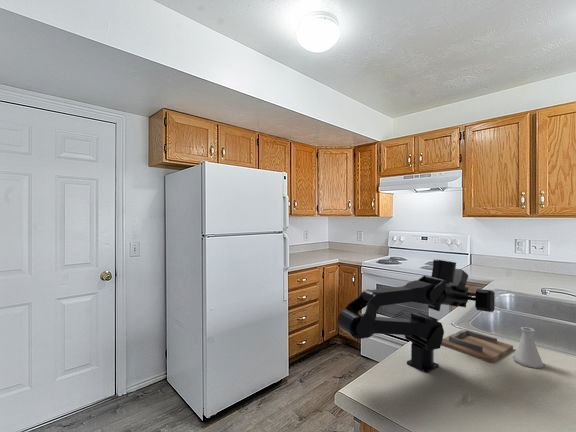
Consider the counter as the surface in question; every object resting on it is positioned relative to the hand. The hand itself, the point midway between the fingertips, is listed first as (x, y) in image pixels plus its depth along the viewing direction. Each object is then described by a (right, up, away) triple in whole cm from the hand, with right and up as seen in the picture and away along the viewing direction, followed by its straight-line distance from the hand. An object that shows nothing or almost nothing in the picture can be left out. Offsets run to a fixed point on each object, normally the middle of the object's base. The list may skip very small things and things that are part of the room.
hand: (475, 299), depth 99 cm
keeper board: (0, -16, +1) cm, 16 cm away
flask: (+9, -16, -10) cm, 21 cm away
